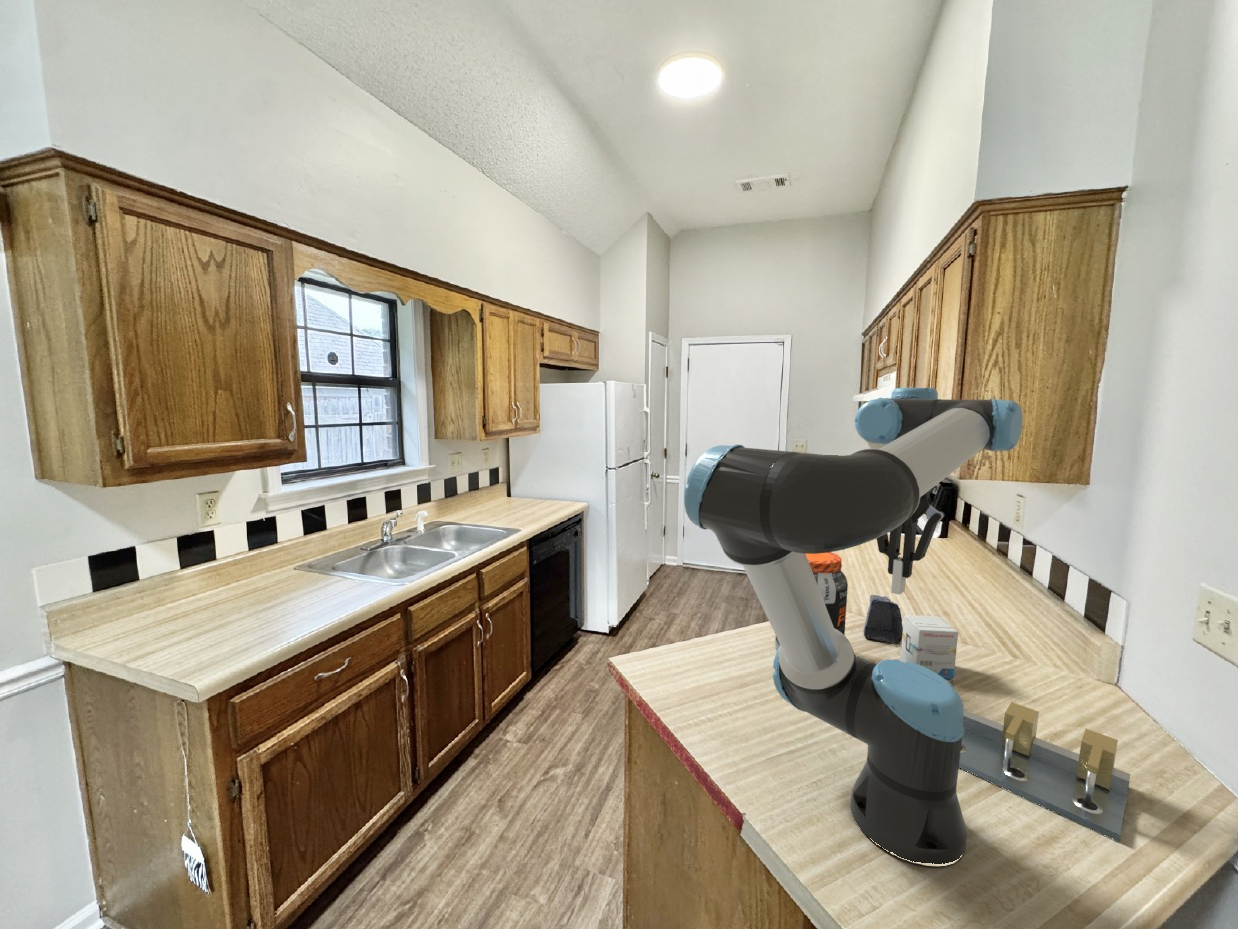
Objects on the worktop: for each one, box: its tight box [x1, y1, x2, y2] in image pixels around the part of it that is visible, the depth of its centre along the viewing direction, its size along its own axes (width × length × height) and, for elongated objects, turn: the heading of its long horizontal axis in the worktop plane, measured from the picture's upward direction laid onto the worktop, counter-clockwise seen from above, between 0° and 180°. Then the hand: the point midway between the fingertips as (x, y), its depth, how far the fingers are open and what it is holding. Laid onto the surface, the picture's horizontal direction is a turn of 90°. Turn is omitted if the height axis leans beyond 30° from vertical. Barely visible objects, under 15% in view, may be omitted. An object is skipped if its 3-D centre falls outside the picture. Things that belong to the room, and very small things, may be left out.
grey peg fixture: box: [959, 709, 1131, 843], centre depth 90 cm, size 16×26×8 cm, turn 42°
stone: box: [862, 594, 903, 645], centre depth 139 cm, size 12×10×10 cm
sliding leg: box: [1001, 701, 1040, 768], centre depth 91 cm, size 12×4×6 cm, turn 132°
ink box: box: [900, 614, 959, 680], centre depth 122 cm, size 9×8×12 cm
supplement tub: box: [774, 552, 849, 652], centre depth 126 cm, size 16×16×26 cm
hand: (898, 591), depth 100 cm, fingers closed
